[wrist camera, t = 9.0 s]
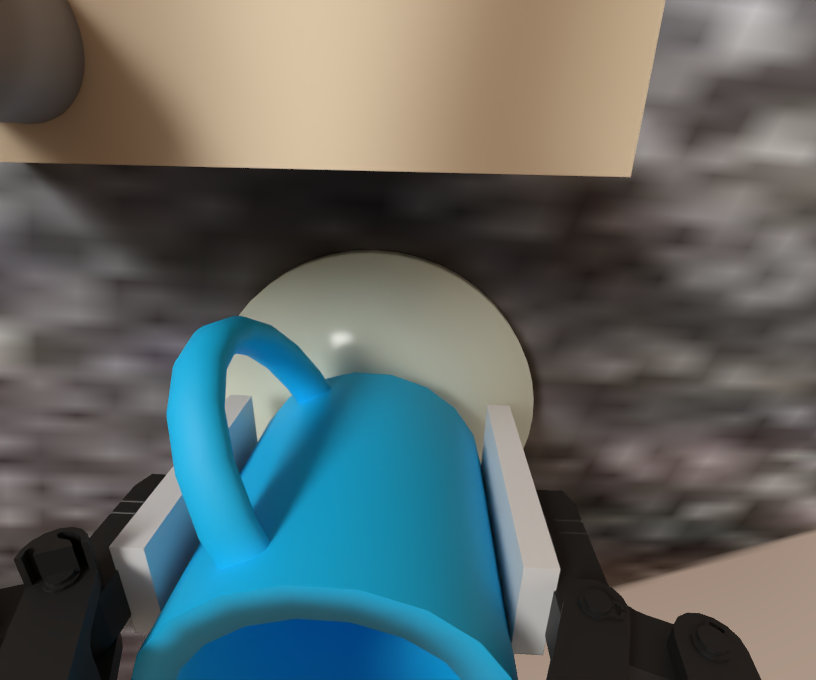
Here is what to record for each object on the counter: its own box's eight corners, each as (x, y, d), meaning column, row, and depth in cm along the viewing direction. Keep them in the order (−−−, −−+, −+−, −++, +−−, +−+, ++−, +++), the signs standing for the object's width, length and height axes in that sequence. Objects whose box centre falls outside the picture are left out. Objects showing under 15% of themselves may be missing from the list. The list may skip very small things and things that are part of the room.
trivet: (243, 512, 21) (236, 525, 20) (202, 244, 16) (191, 249, 15) (511, 524, 20) (514, 538, 20) (549, 255, 16) (555, 260, 15)
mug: (511, 517, 18) (574, 791, 10) (324, 574, 19) (259, 848, 12) (377, 226, 14) (319, 325, 6) (154, 327, 15) (-114, 507, 8)
